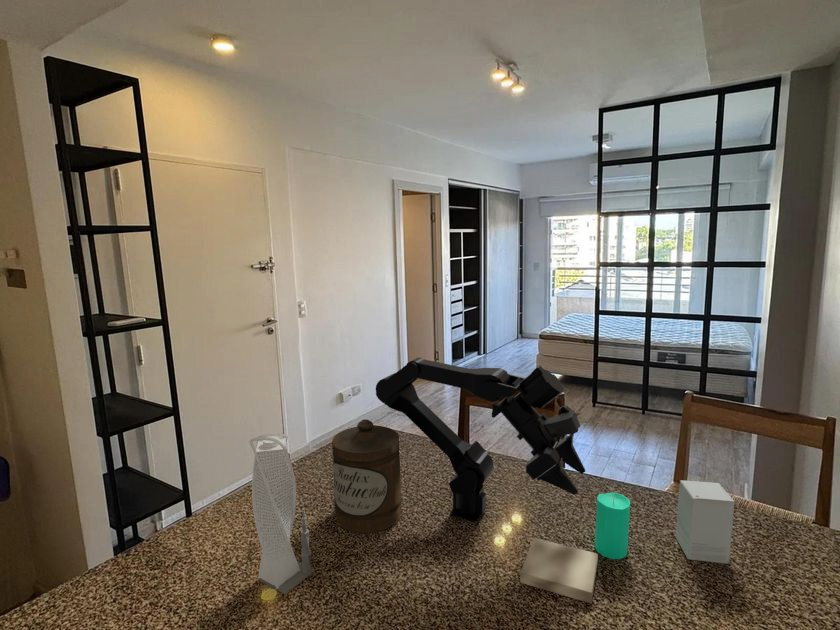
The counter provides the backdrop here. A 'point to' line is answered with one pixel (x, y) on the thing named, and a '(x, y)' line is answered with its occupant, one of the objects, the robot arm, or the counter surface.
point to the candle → (612, 525)
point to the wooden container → (367, 478)
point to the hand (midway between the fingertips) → (580, 482)
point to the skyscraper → (277, 515)
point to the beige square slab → (560, 569)
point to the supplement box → (704, 521)
